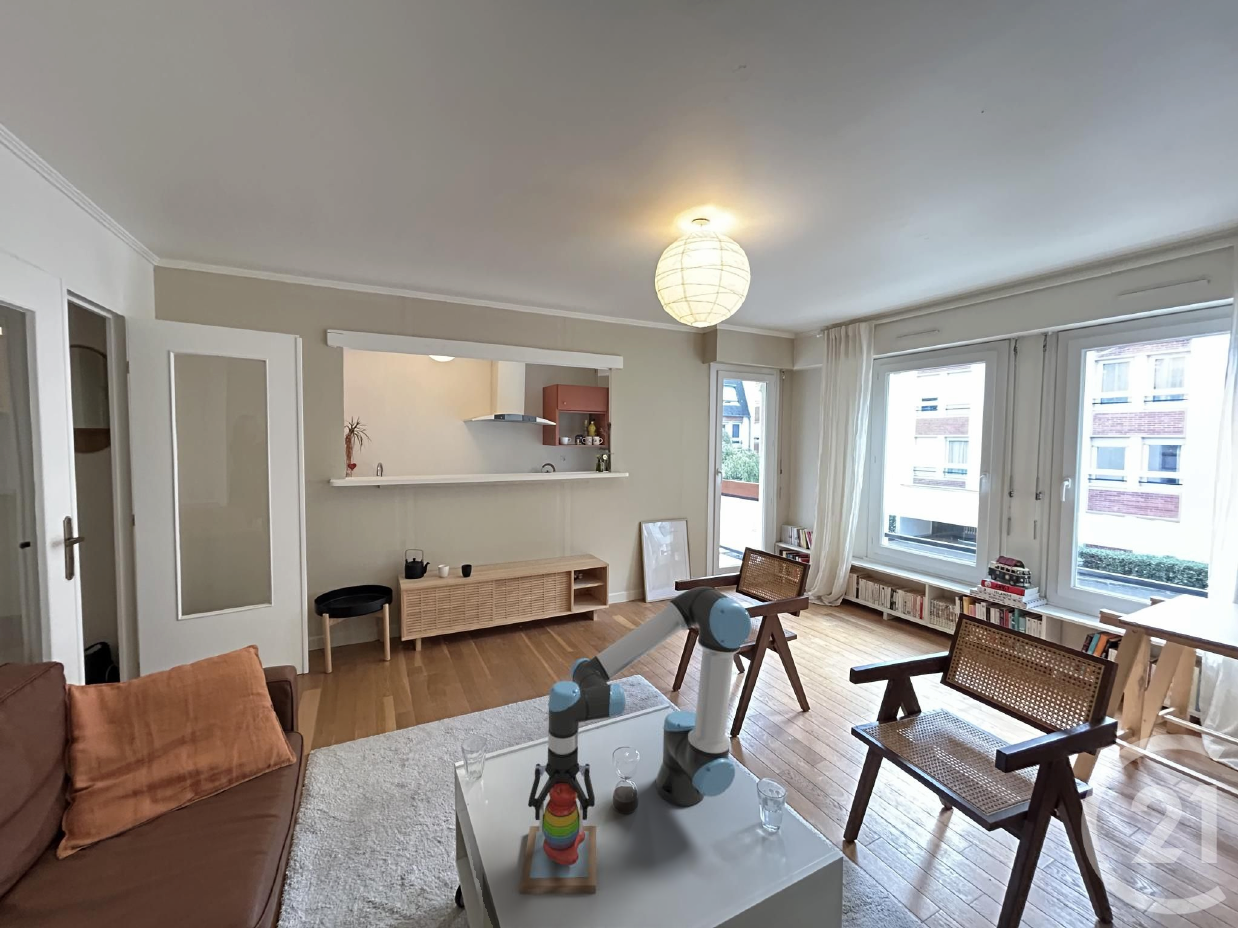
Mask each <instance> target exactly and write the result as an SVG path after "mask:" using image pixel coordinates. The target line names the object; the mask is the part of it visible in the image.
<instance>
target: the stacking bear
mask: <svg viewBox="0 0 1238 928" xmlns="http://www.w3.org/2000/svg"><path fill="white" fill-rule="evenodd" d="M548 795H549V800H547V803H546V804H545V806H544V816H543V832H544V836H545V839H544V843H543V849H544V852H545V853H546V855H547V856H548V857H550V858H551V859H552V860H554V861H556V862H558V863H560V864H564V865H573V864H574V863H576V862H577V860H578V852H577V848H578V846H579V845H580V844H581V843H582V842H583V841H584V840H585V832H584V831H583V829H582V835H579V820H580V809H579V807H578V804H577V799H578V798H577V796H578V794H577V793H576V792H575V791H574V790H573V789H572V788H571V786H570V785H569V783H557V784H556V783H555V784H554V786H553V787H552V788H551V790H550V791H549V793H548Z"/></svg>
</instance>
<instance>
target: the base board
mask: <svg viewBox="0 0 1238 928" xmlns="http://www.w3.org/2000/svg"><path fill="white" fill-rule="evenodd" d="M582 829H583V831H584V832H585V840H584V841H583V842H582V843H581V844H580V845H579V846H578V848H577V852H578V860H577V862H576V863H574V864H573V865H564V864H560V863H558V862H556V861H554V860H552V859H551V858H550V857H548V856H547V855H546V853H545V852H544V849H543V843H544V839H545V836H544V832H543V833H542V835H539V825H536V826H535V825H531V826H529V830H528V837H527V842H526V846H525V847H526V848H525V854H524V859H523V866H522V870H521V871H522V872H521V876H520V882H519V883H520V884H519V894H520V895H524V894H525V895H527V894H528V895H533V894H539V895H541V894H543V895H544V894H596V893H597V825H582Z"/></svg>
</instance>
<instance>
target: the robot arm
mask: <svg viewBox="0 0 1238 928" xmlns="http://www.w3.org/2000/svg"><path fill="white" fill-rule="evenodd" d="M696 626H697V627H698V637H697V643H698V644H699V646H700V647H701V648H702V652H701V653H702V654H701V661H700V672H699V680H698V692H697V701H696V709H695V712H693V711H689V710H676V711H672V712H670V713H668V714H667V716H665V717H664V723H663V727H662V728H663V739H662V740H663V743H662V762H661V764H660V766H659V770H658V772H657V776H656V779H655V780H656V781H655V783H656V785H655V787H656V790H657V793H658V794H659V796H660V797H661V798H662V799H663V800H665V801H666V802H668V803H670V804H672V805H674V806H675V805H676V806H682V807H683V806H685V807H687V806H688V807H689V806H693V805H696V804H698V803H700V802H701V801H702V800H703V799H704V798H705V797H707V798H712V797H713V798H714V797H718V796H720V795H721V794H723V793H725V792H726V790H728V789H729V788H730V786H731V785H732V784H733V781H734V779H735V777H736V768H735V765H734V763H733V761H732V760H730V758H729V755H730V746H731V745H730V744H731V743H730V740H729V738H728V737H727V736H726V731H727V721H728V712H729V711H728V710H729V702H730V692H731V686H732V685H731V682H732V674H733V665H734V655H736V653H738V652H739V651H741V646H743V645H744V644H745V643H746V640H747V639H749V636H750V635H751V630H752V620H751V616H750V614H749V612H748V610H746V608H745V607H744V606H743V605H742V604H741V603H740V602H738V601H737V600H735V599H734V598H731V597H729V596H728V595H725V594H724V593H722V592H720V591H719V590H718V589H715V588H713V587H710V586H697V587H693V588H691V589H689V590H686V591H684V592H682V593H680V594H678V595H677V596H675V597H673V598H671V600H669V601H668V602H666V607H665V608H664V609H662V610H661V611H660V612H657V613H656V614H655V615H653V616H652V617H651V618H649V619H648V620H646V621H645V622H643V623H642V624H640V625H638V626H637V627H636V628H635V629H633V630H632V631H630V632H629V633H627V634H626V635H624V636H623V637H621V638H620V639H618V640H617V641H615V642H614V643H613V644H611V645H609V646H608V647H607V648H605V649H604V650H602V651H601V652H599V653H598V654H596V655H595V656H594V657H592V658H591V659H589V658H586V657H584V658H579V659H577V660H575V661H574V662H573V664H572V665H571V667H570V670H569V671H570V673H569V674H570V676H569V677H570V678H571V681H570V680H569V681H566V680H561V681H558V682H556V683H554V684H553V685H552V686H551V687H550V690H549V694H548V696H549V697H548V704H547V705H548V730H547V732H548V733H547V746H548V747H547V763H545V765H541V764H540V763H536V765H535V769H534V779H533V782H532V787H531V791H530V793H529V797H528V798H529V799H528V803H527V804H528V805H527V806H528V807H529V808H532V807H533V808H534V809H535V812H534V813H535V814H534V815H535V821H539V825H538V826H539V835H542V833H543V816H544V812H545V800H546V798H547V797H548V795H549V791H550V790H551V788H552V787H553V786H554V784H555V783H556V784H557V783H569V785H570V786H571V788H572V789H573V790H574V791H575V792H576V793H577V794H578V796H577V798H576V799H577V800H578V802H579V815H580V820H579V835H582V826H584V825H583V823H584V822H583V821H587V819H588V810H589V809H588V808H589V807H592V808H593V807H595V805H596V804H595V802H596V801H595V800H596V799H595V797H596V796H595V793H594V789H593V784H592V780H591V774H590V773H591V772H590V767H591V765H590V764H589V763H585V765H580V764H579V758H578V756H579V725H580V723H584V722H589V721H595V720H601V719H602V720H603V719H609V718H612V717H615V716H619V715H622V714H623V713H624V712H625V709H626V694H625V691H624V688H623V686H622V685H621V684H620V683H609V684H608V682H609V681H611V679H613V678H614V677H616V676H618V675H619V674H620V673H622V672H623V671H625V670H626V669H627V668H629V667H630V666H632V665H633V664H634V663H636V662H637V661H638V660H641V658H643V657H645V656H646V655H647V654H649V653H650V652H651V651H653V650H654V649H656V648H657V647H659V646H660V645H662V644H663V643H665V642H666V641H667V640H668V639H670V638H672V637H673V636H675V635H676V634H677V633H678V632H680V631H686V632H687V631H688V630H690V628H692V627H696ZM579 772H580V775H581V776H582V777H583V781H584V782H583V783H584V786H585V789H586V794H587V795H586V794H585V791H584V790H583V788H582V786H581V784H580V782H579V781H578V779H577V775H578V773H579ZM544 773H546V774H547V775H548V779H547V780H546V782H545V784H544V785H543V787H542V789H541V791H540V792H539V794H538V796H537V797H536V795H537V791H538V788H539V785H540V780H541V777H543V776H544Z"/></svg>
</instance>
